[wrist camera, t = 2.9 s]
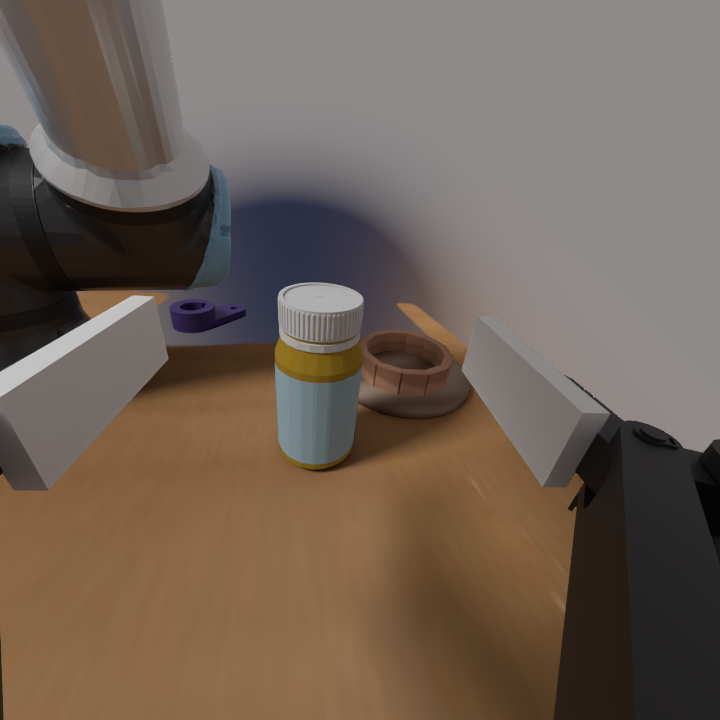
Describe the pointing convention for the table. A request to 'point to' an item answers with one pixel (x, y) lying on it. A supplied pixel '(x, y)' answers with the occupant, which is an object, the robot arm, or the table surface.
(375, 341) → the bottle holder
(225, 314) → the lever
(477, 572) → the table surface
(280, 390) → the bottle
